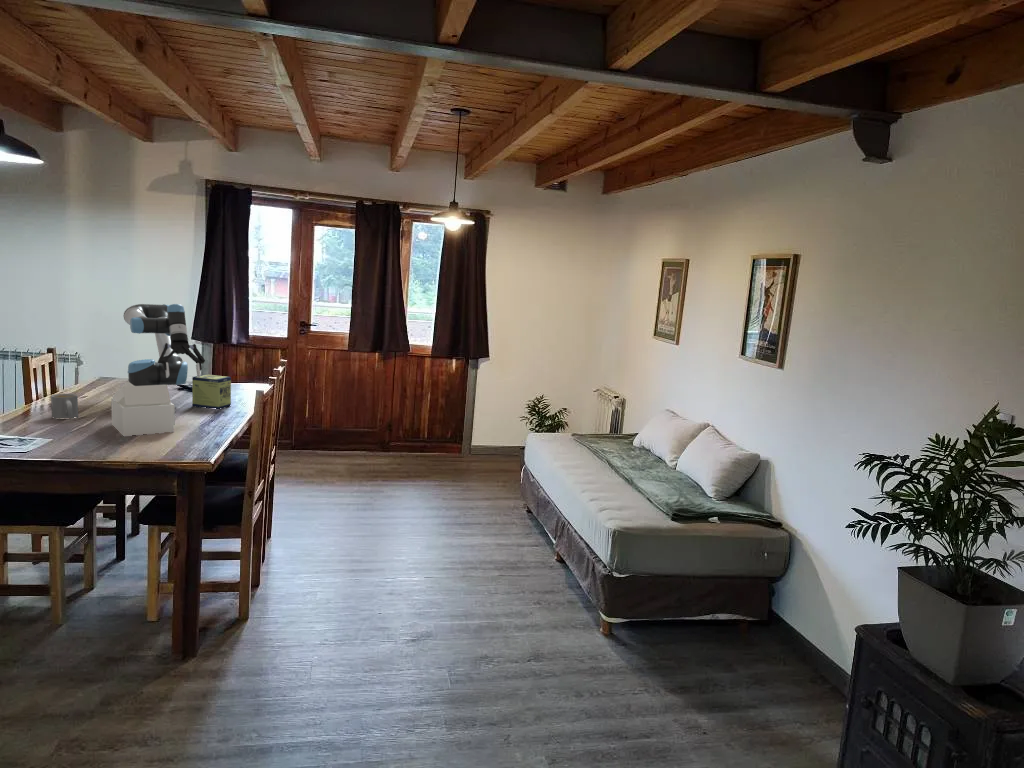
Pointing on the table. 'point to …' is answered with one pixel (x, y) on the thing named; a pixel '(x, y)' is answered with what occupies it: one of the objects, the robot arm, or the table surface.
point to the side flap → (121, 392)
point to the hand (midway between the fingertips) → (183, 376)
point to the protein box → (211, 391)
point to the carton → (142, 418)
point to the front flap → (146, 395)
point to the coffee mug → (64, 405)
